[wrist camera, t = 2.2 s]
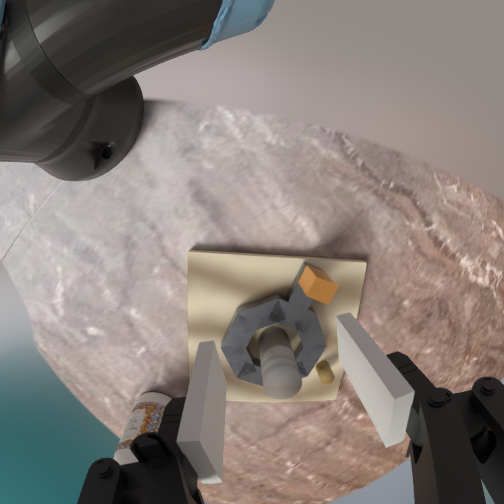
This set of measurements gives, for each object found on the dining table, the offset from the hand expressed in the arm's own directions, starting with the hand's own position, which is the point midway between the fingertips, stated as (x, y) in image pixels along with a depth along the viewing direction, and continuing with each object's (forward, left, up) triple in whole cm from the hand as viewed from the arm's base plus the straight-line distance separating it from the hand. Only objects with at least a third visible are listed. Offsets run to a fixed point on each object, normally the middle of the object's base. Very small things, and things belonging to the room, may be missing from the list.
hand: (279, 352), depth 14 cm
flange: (+7, +3, -17) cm, 19 cm away
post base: (+9, +3, -19) cm, 21 cm away
